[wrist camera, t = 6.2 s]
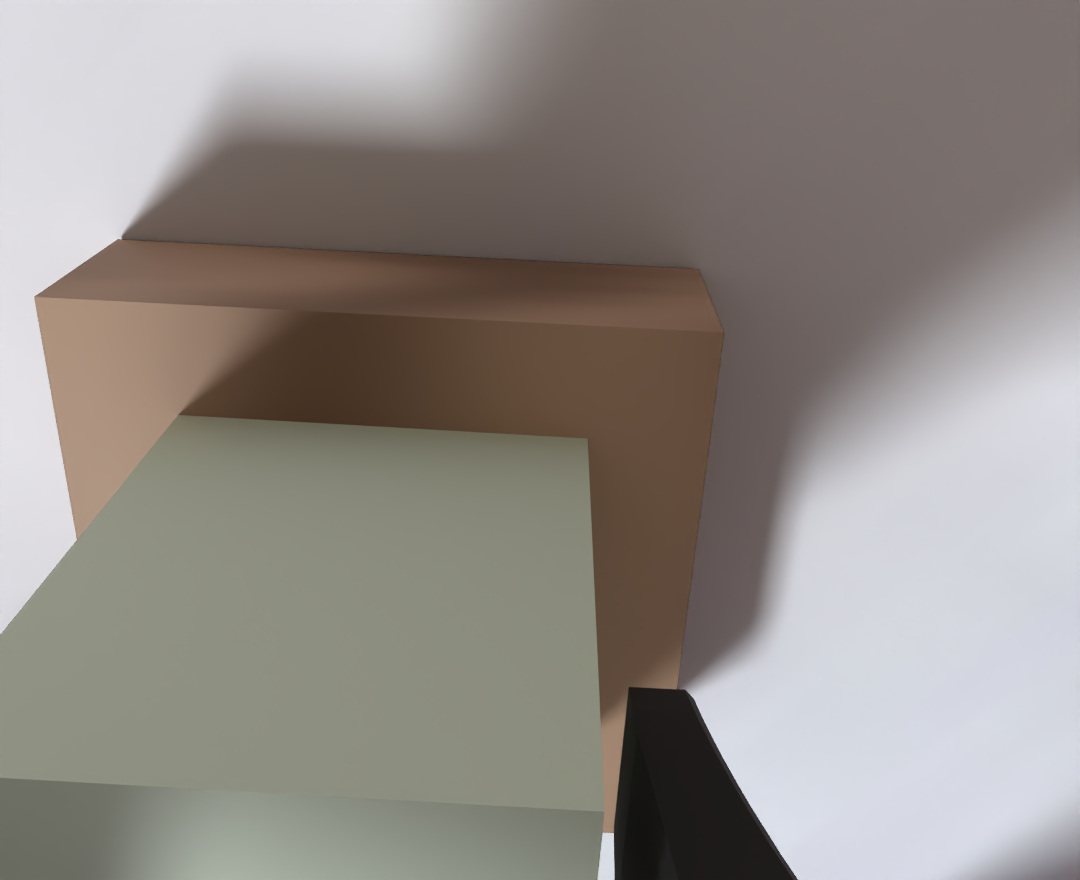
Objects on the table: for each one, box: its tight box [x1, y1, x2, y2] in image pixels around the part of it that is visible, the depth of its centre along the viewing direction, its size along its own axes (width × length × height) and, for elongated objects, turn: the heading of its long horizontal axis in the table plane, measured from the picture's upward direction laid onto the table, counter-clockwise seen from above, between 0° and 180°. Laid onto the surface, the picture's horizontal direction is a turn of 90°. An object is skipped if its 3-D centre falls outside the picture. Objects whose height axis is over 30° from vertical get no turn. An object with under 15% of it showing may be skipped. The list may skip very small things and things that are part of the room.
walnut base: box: [34, 239, 724, 833], centre depth 15 cm, size 8×8×2 cm
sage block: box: [0, 415, 605, 880], centre depth 11 cm, size 5×5×6 cm
